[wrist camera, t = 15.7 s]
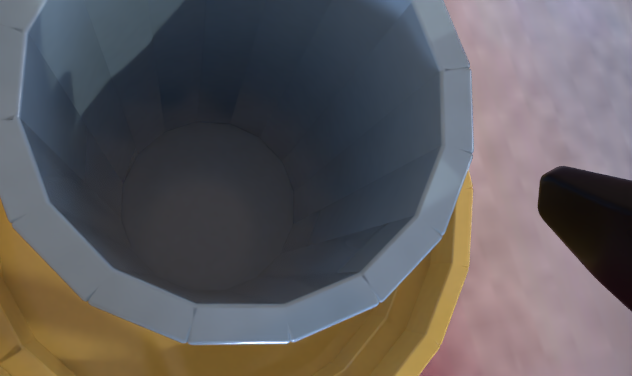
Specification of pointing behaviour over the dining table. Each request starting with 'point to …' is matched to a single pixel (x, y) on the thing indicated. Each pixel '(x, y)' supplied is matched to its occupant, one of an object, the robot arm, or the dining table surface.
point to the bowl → (225, 360)
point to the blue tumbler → (232, 155)
